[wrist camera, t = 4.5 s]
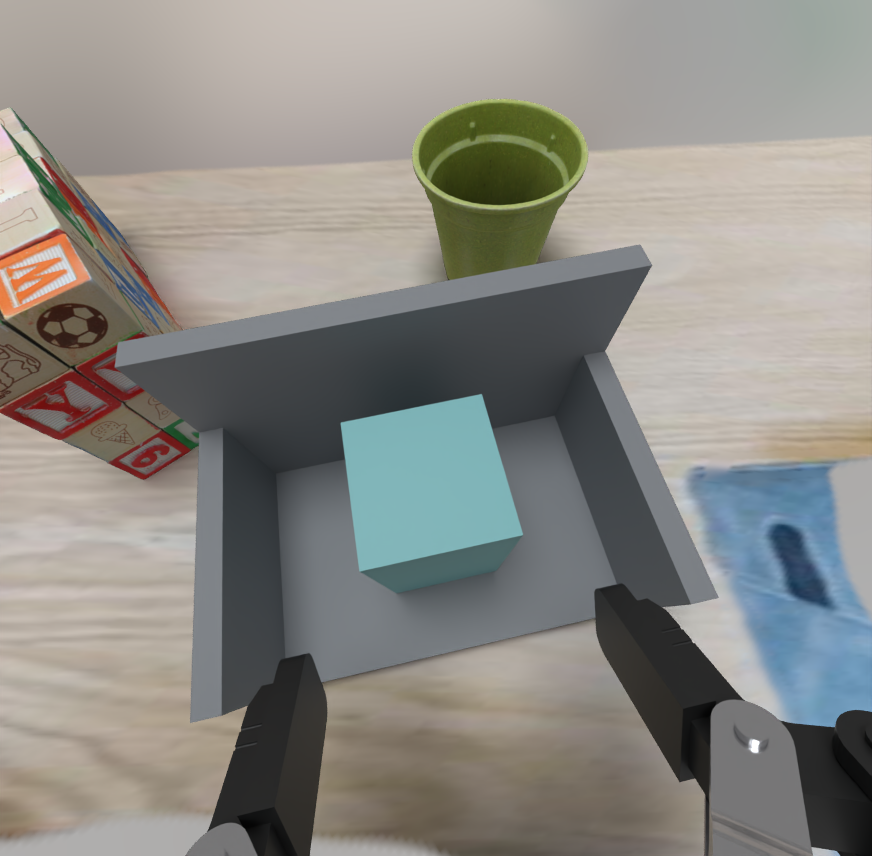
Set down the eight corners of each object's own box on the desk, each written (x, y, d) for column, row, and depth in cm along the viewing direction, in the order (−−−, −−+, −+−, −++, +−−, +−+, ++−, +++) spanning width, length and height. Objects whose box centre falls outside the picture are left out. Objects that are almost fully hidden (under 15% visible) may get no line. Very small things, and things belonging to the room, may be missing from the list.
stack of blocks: (43, 270, 33) (-171, 85, 21) (122, 233, 34) (-40, 40, 23) (145, 483, 25) (-105, 366, 14) (241, 423, 26) (86, 273, 15)
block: (496, 570, 21) (523, 535, 13) (396, 593, 21) (359, 571, 13) (471, 476, 23) (481, 394, 15) (380, 495, 23) (340, 422, 15)
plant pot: (404, 307, 30) (387, 191, 22) (443, 215, 33) (440, 88, 25) (539, 336, 28) (572, 223, 20) (564, 237, 32) (600, 109, 24)
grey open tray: (638, 606, 21) (836, 584, 10) (273, 692, 20) (59, 770, 9) (561, 405, 26) (640, 244, 15) (264, 466, 25) (118, 342, 14)
